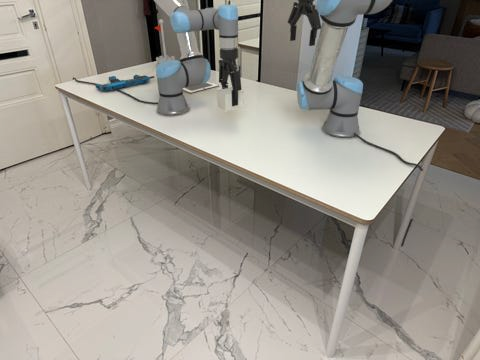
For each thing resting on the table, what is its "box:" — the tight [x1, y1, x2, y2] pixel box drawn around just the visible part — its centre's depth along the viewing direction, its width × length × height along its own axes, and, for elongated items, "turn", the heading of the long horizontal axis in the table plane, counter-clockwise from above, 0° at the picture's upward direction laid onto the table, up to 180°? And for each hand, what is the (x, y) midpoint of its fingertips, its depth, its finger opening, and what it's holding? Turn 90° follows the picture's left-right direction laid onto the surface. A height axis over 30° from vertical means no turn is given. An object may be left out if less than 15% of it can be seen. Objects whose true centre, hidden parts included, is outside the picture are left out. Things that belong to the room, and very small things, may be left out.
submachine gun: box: [95, 74, 156, 92], centre depth 206 cm, size 34×4×25 cm
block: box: [216, 86, 245, 112], centre depth 148 cm, size 8×9×7 cm
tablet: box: [183, 81, 219, 94], centre depth 207 cm, size 32×20×1 cm, turn 41°
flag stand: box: [154, 18, 176, 65], centre depth 234 cm, size 13×13×30 cm
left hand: (230, 102), depth 149 cm, fingers closed on block, 7 cm apart
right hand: (302, 43), depth 157 cm, fingers open, 13 cm apart
